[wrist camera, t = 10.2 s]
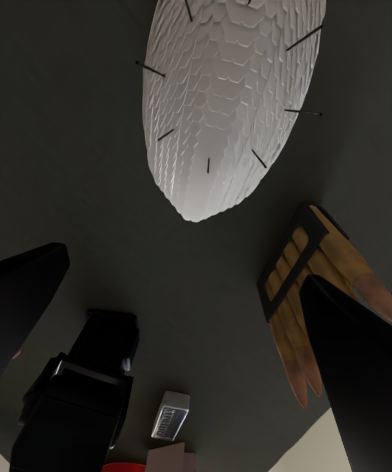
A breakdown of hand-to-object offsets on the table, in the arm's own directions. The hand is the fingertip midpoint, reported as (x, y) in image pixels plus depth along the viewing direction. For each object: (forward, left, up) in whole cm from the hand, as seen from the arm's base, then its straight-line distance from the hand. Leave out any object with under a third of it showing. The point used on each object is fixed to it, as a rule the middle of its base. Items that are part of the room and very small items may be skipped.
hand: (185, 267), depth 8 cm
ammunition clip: (+9, -7, -13) cm, 17 cm away
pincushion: (+1, +6, -5) cm, 8 cm away
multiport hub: (0, -45, -13) cm, 47 cm away
